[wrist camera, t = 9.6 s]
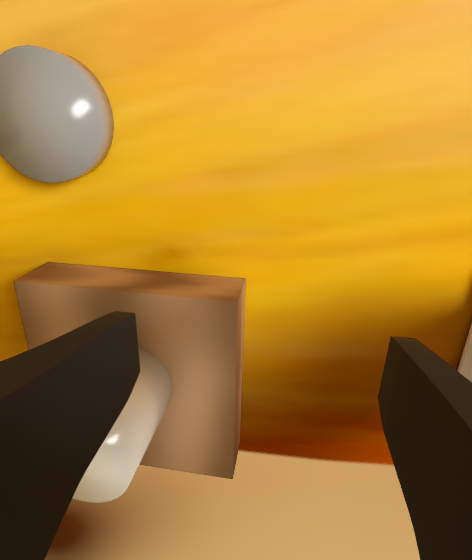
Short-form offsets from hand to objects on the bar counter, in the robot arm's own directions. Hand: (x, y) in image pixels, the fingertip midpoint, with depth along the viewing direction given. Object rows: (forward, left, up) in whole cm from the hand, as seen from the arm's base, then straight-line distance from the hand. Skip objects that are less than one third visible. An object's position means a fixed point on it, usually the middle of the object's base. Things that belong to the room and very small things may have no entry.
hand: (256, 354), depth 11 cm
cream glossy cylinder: (+8, +8, -7) cm, 13 cm away
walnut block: (+8, +8, -10) cm, 15 cm away
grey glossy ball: (+12, -6, -11) cm, 17 cm away
